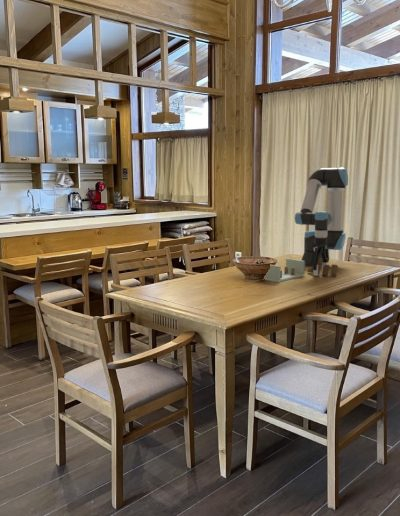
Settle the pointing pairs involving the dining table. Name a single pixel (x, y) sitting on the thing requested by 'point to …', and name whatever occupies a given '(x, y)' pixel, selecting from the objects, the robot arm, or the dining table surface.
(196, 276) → the dining table surface
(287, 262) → the peg stand
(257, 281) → the dining table surface
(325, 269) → the wooden block set
